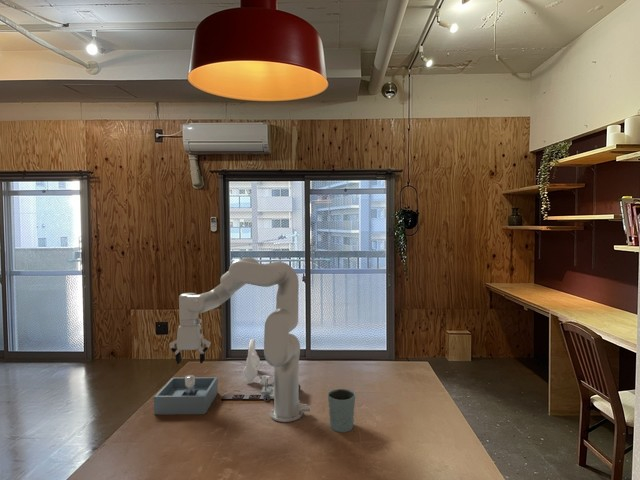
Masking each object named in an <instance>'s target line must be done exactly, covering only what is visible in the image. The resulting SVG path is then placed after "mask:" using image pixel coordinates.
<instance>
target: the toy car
mask: <svg viewBox="0 0 640 480" xmlns="http://www.w3.org/2000/svg"><path fill="white" fill-rule="evenodd" d="M258 377H259V380H258V381H257V383H259V384H263V385H264V386H262V388H261V390H260V391H261V392H260V393H261V394H260V395H263V397H262V399H263V401H264V402H270V401H271V400H274V384H271V383H268V382H269V381H268V380H269V379H270V375H265V374H264V375H262V376H260V375H258ZM301 388H302V387H301V384H299V391H300V390H301ZM266 399H267V400H266ZM300 399H301V398H300V395H299V400H300Z"/></svg>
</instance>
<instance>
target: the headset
mask: <svg viewBox="0 0 640 480" xmlns="http://www.w3.org/2000/svg"><path fill="white" fill-rule="evenodd" d="M247 350H248V351H247V357H246V365H245V367H243V370H242V372H243V373H242V374H243V376H244V378H245V380H246V381H245V382H246V384H247V385H249V384H252V383H254V379H256V377H257V376H258V367H259V366H260V361H261V359H260V356H259V355H258V352H257V351H256V342H255V339H254V338H251V339H250V340H249V343H248V349H247Z"/></svg>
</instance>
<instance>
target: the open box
mask: <svg viewBox="0 0 640 480" xmlns="http://www.w3.org/2000/svg"><path fill="white" fill-rule="evenodd" d="M218 382H219V381H218V377H217V376H215V377H214V376H213V377H212V376H211V377H209V376H206V377H205V376H204V377H199V376H198V377H196V376H195V396H185V377H182V376H181V377H171V378H170V379H169V380H168V381H167V383H166V384H164V385H163V387H162V388H160V390H159V391H158V392H157V393H156V394H155V395H154V396H153V414H154V415H206V414H205V413H207V412H208V410H210V409H209V408H210V407H211V405H212V404H211V403H213V402H214V400H215V398H216V396H217V395H218V393H219V391H218V390H219V387H218V384H219V383H218Z"/></svg>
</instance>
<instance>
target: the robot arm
mask: <svg viewBox="0 0 640 480" xmlns="http://www.w3.org/2000/svg"><path fill="white" fill-rule="evenodd" d="M219 279H220V280H219V281H220V283H219V284H218V285H217V286H215V287H214V288H213V289H211V290H210V291H207V292H202V293H199V294H197V293H195V292H184V293H181V294H180V295H179V296H178V306H179V308H178V311H179V326H178V328H177V333H176V334H177V335H176V339H175V340H173V341H172V342H170V343H169V344H168V346H169V347H170V349H171V351H172V353H174V355H175V362H176V364H177V365H179V364H181V362H182V353H181V351H199V363H200V364H203V363H204V361H205V360H206V357H205V356H206V354H205V353H206V351H207V350H208V349H209V347H210V345H211V343H212V342H211V341H209V340H207V339H205V338H204V335H203V330H202V325H201V324H202V322H203V319H200V318H199V314H202V313H206V312H208V311H211V310H213V309H216V308H218V307H220V306H222V304H224V303H225V302H226V301H228V300H229V299H230V298H231V297H232V296H233V295H234V294H235V293H236V292H238V290H240V289H241V288H243V287H244V286H246V285H251V286H257V287H263V288H268V287H269V288H270V287H272V286H274V285H277V290H276V291H277V292H276V297H275V298H276V299H275V301H276V304H275V305H276V306H275V311H273V312H271V313H270V314H269V315H268V316H267V318H266V319H265V323H264V329H263V331H264V333H263V336H264V337H263V340H264V341H263V344H264V345H263V353H264V354H263V355H264V358H265V361H266V363H267V364H268V365H269V366H271V367H273V387H274V399H273V400H274V401H273V403H274V404H273V405H274V406H273V408H272V409H271V410H270V412H269V415H270V418H271V419H272V420H274V421H276V422H279V423H281V422H282V423H290V422H295V421H297V420H299V419H300V418H301V417H302V416H303V412H311V406H310V405H308V403H304V404H303V403H300V401H301V400H300V399H299V396H300V395H299V394H300V393H299V391H300V390H299V385H300V384H299V367H300V366H299V364H300V353H301V344H300V340H299V339H298V337H297V336H296V335H295V334H293V333H291V332H292V331H293V330H295V329H296V328H297V326H298V323H299V288H300V287H299V283H300V282H299V277H298V275H297V272H296V270H295V269H294V268H293V267H292V266H291V265H289V264H288V263H286V262H284V261H273V262H269V263H265V264H264V263H260V262H259V261H258V260H257V259H255V258H253V257H244V258H238V259H235V260H234V261H232V262H231V264H230V266H229V268H228V271H226V272H225V273H223V274H222V275H221V276H220V278H219ZM200 323H201V324H200ZM174 345H176V346H174ZM204 345H205V346H204ZM203 346H204V347H203Z"/></svg>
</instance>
